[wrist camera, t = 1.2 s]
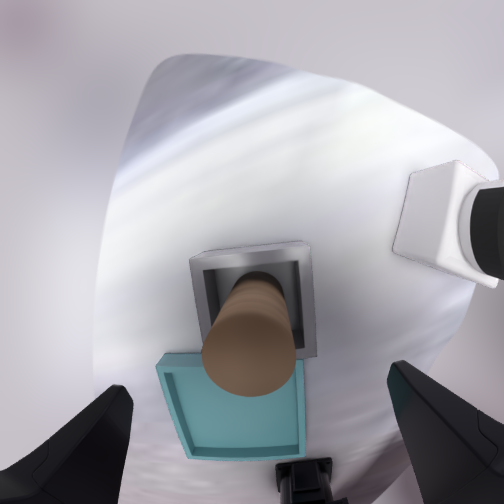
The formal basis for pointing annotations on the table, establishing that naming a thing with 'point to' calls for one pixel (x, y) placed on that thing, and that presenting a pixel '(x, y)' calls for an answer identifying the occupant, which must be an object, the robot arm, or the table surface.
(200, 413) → the tray
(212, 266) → the grey square open box
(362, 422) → the table surface
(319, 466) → the robot arm
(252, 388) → the walnut dowel
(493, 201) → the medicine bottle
